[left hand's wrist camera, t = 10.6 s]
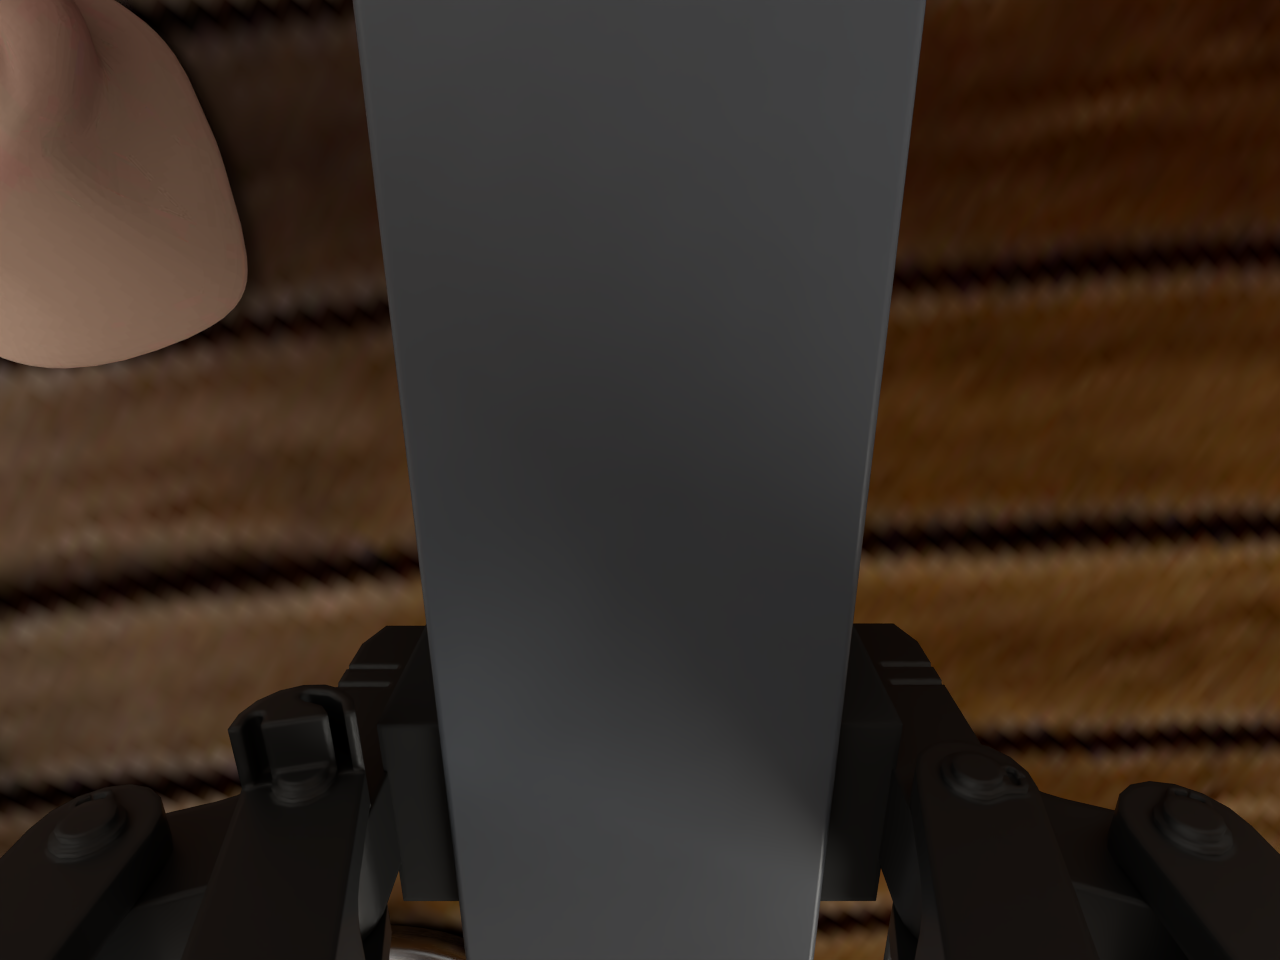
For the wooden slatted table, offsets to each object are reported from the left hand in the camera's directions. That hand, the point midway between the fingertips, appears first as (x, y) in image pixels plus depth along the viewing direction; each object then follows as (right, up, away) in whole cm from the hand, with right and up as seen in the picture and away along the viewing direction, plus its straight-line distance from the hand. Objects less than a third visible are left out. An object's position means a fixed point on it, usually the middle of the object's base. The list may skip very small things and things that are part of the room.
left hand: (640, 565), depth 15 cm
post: (0, +32, -11) cm, 34 cm away
